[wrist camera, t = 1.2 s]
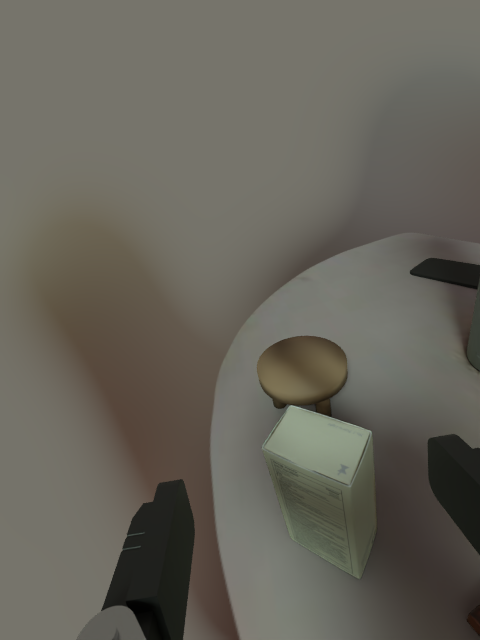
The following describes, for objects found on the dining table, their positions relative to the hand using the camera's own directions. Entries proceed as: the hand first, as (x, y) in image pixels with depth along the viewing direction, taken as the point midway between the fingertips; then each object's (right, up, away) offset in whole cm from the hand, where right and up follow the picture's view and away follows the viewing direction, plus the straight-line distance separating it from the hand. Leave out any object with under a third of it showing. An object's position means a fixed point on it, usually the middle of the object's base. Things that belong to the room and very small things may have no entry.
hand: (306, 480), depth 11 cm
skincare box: (+5, -13, +17) cm, 22 cm away
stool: (+6, -5, +30) cm, 31 cm away
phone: (+36, +12, +47) cm, 60 cm away
